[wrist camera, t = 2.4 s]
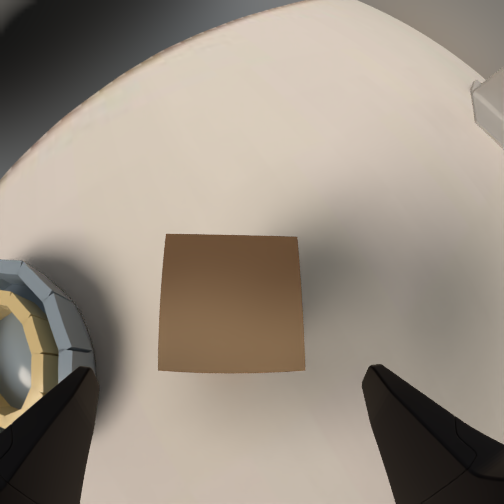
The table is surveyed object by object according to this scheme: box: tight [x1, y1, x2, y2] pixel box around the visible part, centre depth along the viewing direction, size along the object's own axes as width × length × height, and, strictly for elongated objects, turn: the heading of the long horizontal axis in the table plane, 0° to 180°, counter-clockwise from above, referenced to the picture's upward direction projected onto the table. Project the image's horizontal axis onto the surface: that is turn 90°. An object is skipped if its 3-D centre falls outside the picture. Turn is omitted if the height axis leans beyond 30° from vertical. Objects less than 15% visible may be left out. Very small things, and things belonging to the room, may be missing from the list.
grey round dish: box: [0, 259, 96, 433], centre depth 14 cm, size 14×14×4 cm
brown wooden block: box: [158, 234, 305, 373], centre depth 13 cm, size 4×4×11 cm
